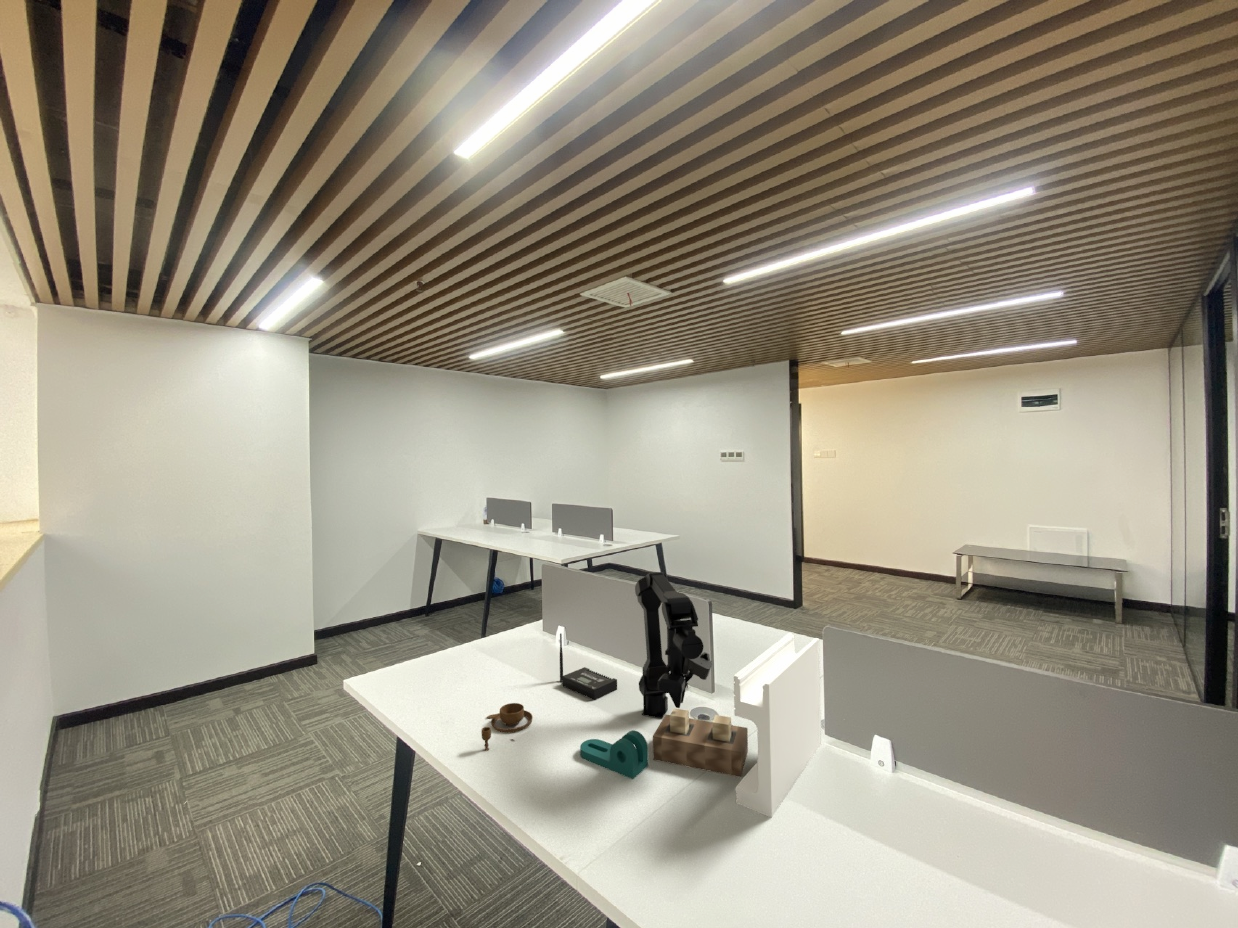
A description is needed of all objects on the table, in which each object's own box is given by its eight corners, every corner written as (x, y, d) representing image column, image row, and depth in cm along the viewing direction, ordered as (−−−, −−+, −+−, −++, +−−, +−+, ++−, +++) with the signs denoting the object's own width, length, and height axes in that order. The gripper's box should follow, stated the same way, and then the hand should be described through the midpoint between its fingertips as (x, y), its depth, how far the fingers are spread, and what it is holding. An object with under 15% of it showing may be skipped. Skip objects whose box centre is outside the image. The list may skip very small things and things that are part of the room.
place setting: (547, 727, 148) (546, 707, 148) (485, 756, 134) (485, 733, 134) (512, 708, 160) (512, 689, 160) (453, 732, 146) (452, 712, 146)
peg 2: (712, 744, 128) (712, 722, 128) (715, 736, 132) (715, 714, 132) (728, 747, 127) (728, 724, 127) (731, 739, 131) (731, 717, 131)
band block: (653, 759, 130) (652, 736, 130) (666, 736, 141) (665, 714, 141) (741, 777, 122) (740, 752, 122) (747, 750, 133) (747, 727, 133)
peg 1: (670, 737, 132) (669, 715, 132) (674, 729, 136) (674, 708, 136) (685, 739, 131) (685, 717, 131) (689, 732, 135) (688, 710, 135)
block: (771, 817, 108) (769, 684, 108) (736, 802, 113) (733, 675, 113) (821, 744, 136) (819, 638, 136) (791, 735, 140) (788, 632, 141)
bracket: (648, 766, 127) (647, 734, 127) (633, 780, 122) (632, 747, 122) (591, 744, 138) (590, 715, 138) (575, 756, 132) (574, 726, 132)
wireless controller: (620, 689, 172) (620, 638, 172) (590, 703, 162) (589, 649, 162) (581, 673, 186) (580, 626, 186) (550, 685, 176) (550, 636, 176)
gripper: (701, 662, 122) (702, 727, 122) (715, 637, 139) (716, 694, 139) (656, 656, 126) (657, 719, 126) (676, 632, 143) (677, 688, 143)
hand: (679, 705), depth 133 cm, fingers open, 3 cm apart
